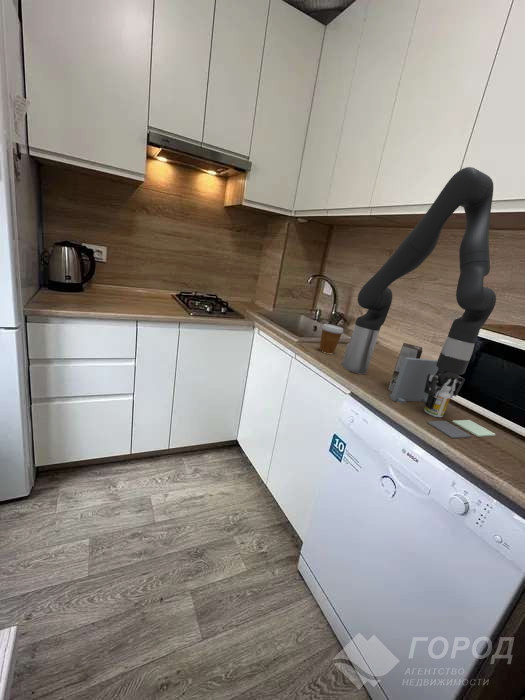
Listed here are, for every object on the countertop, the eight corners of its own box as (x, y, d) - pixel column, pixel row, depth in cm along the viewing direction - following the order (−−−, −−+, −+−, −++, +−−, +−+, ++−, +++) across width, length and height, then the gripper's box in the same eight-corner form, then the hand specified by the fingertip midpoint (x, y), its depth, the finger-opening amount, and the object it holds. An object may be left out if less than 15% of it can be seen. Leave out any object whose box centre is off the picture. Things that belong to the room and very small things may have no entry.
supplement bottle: (436, 411, 103) (447, 382, 101) (446, 419, 98) (458, 389, 96) (420, 408, 103) (430, 379, 100) (429, 416, 98) (440, 386, 95)
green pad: (452, 421, 97) (452, 420, 97) (469, 421, 101) (469, 419, 100) (478, 436, 90) (478, 435, 90) (495, 435, 94) (495, 434, 94)
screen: (386, 396, 107) (400, 355, 103) (420, 396, 114) (434, 358, 110) (398, 403, 103) (412, 361, 99) (432, 403, 110) (447, 364, 106)
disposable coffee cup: (317, 352, 144) (323, 326, 140) (314, 347, 153) (321, 322, 150) (338, 357, 144) (346, 331, 140) (335, 351, 153) (342, 326, 150)
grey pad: (426, 422, 92) (427, 421, 92) (445, 422, 96) (445, 420, 96) (452, 438, 85) (452, 437, 85) (471, 437, 89) (471, 435, 89)
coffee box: (407, 396, 111) (422, 351, 107) (387, 390, 114) (402, 345, 109) (408, 389, 119) (423, 347, 115) (389, 383, 122) (403, 341, 117)
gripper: (459, 352, 102) (440, 402, 106) (427, 348, 96) (408, 402, 100) (482, 360, 95) (461, 413, 100) (450, 357, 89) (429, 414, 94)
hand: (435, 407), depth 100 cm, fingers closed on supplement bottle, 5 cm apart
